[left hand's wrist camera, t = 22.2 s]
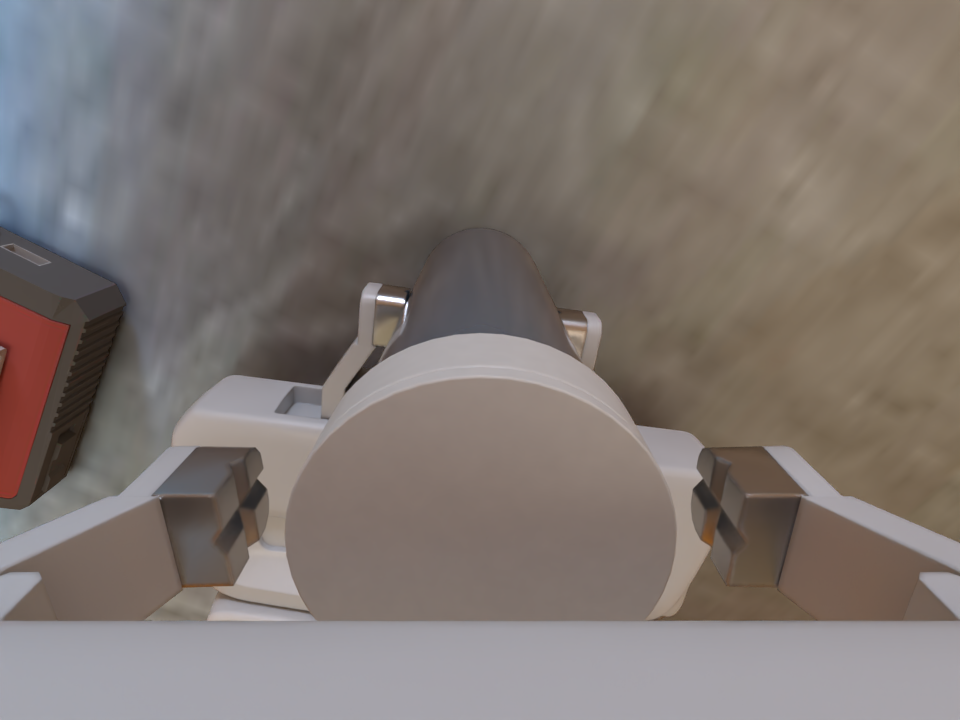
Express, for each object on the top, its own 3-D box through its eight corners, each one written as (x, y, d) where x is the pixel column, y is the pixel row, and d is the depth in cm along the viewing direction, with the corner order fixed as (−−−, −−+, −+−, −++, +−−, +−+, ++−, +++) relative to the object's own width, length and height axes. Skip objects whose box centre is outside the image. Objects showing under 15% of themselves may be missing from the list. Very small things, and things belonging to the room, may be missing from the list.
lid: (321, 310, 9) (281, 350, 7) (679, 353, 9) (727, 402, 7) (315, 593, 11) (284, 677, 9) (605, 621, 11) (628, 708, 9)
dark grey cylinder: (474, 366, 25) (467, 682, 10) (395, 282, 24) (254, 509, 9) (563, 294, 24) (702, 533, 9) (486, 201, 23) (499, 304, 8)
